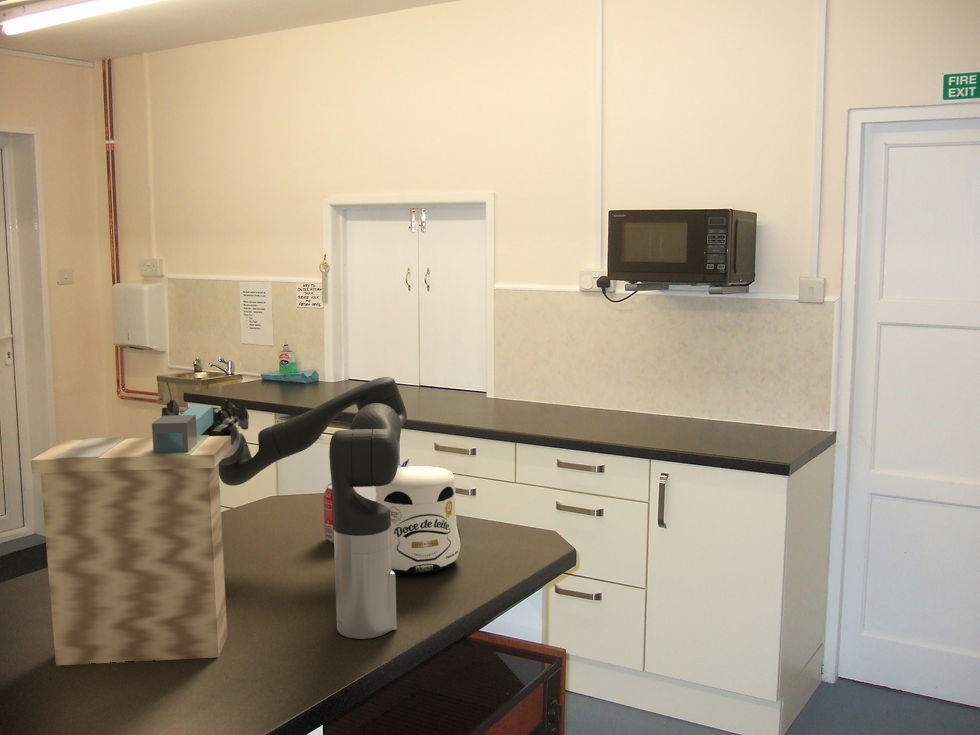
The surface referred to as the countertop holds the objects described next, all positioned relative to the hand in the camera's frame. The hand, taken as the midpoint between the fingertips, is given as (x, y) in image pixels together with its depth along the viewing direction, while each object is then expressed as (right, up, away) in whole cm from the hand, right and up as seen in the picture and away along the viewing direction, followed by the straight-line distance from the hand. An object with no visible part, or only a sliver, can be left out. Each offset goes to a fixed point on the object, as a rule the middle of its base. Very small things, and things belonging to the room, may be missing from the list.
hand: (197, 404), depth 150 cm
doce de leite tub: (+35, -33, +26) cm, 54 cm away
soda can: (+18, -31, +41) cm, 54 cm away
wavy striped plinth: (-5, -38, -8) cm, 39 cm away
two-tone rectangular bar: (+1, -5, -7) cm, 8 cm away
